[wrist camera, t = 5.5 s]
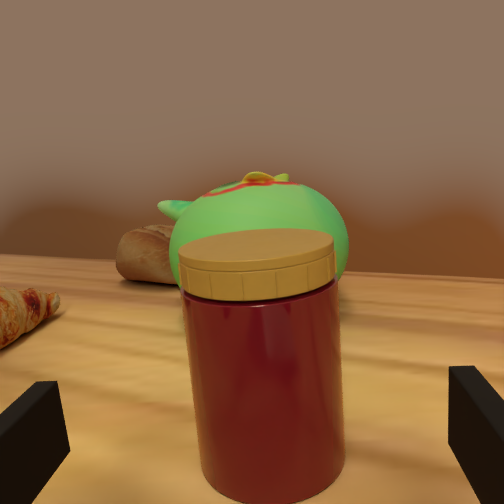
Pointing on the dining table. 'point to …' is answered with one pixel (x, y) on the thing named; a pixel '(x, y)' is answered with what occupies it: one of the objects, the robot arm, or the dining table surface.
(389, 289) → the dining table surface
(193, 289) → the jam lid
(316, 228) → the toy bird
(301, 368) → the jam jar
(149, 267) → the bread roll
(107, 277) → the dining table surface
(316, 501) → the dining table surface
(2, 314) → the croissant
